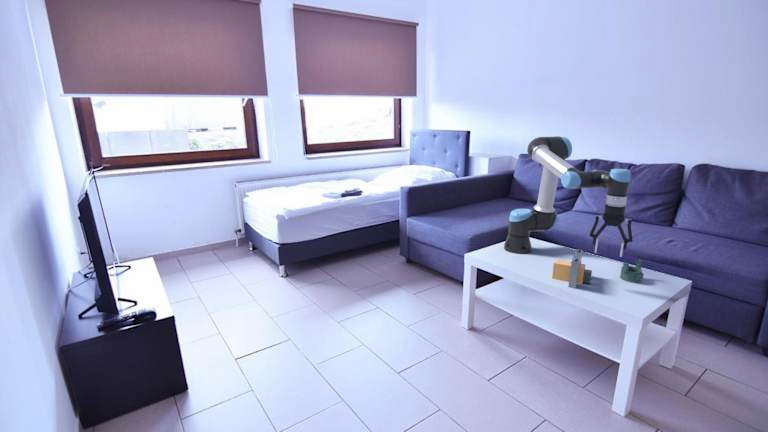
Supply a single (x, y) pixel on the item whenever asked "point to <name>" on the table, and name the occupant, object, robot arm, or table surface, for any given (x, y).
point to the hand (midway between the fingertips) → (608, 253)
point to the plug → (563, 272)
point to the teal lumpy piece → (632, 272)
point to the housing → (575, 268)
